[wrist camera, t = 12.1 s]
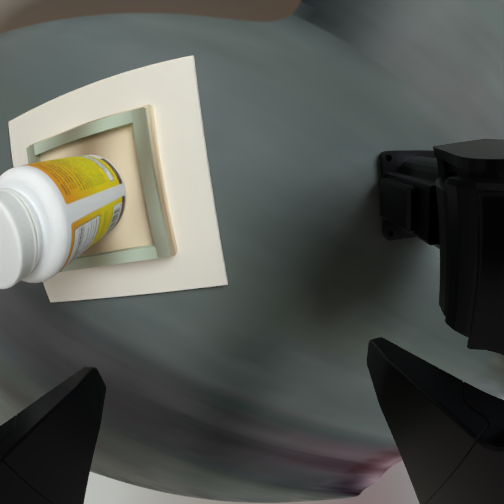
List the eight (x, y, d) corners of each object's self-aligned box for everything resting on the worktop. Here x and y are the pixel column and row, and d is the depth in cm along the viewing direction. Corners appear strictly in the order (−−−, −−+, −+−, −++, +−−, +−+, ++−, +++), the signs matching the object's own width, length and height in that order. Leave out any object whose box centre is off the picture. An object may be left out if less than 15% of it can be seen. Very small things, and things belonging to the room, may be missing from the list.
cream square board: (194, 57, 16) (193, 55, 16) (227, 281, 22) (227, 284, 21) (12, 121, 17) (8, 121, 16) (53, 299, 22) (50, 302, 22)
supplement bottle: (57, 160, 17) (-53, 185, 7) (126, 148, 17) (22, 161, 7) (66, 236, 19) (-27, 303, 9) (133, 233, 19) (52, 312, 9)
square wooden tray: (153, 106, 17) (145, 103, 16) (177, 250, 20) (173, 259, 19) (36, 144, 17) (24, 146, 16) (63, 267, 21) (54, 275, 19)
